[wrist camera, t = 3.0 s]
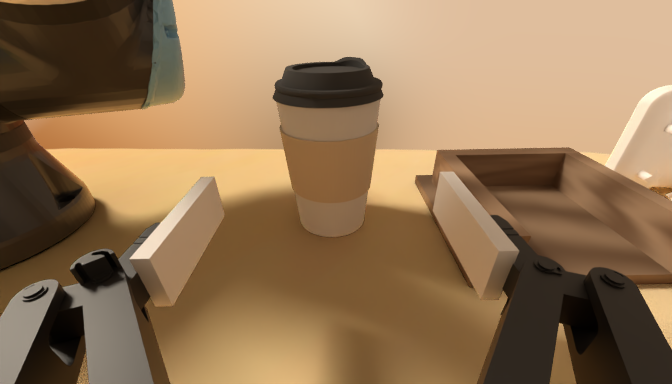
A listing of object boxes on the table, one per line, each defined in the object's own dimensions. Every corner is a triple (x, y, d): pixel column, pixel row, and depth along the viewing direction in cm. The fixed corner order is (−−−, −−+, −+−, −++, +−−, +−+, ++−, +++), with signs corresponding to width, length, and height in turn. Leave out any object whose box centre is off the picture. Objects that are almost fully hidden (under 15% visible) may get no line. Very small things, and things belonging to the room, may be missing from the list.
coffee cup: (332, 259, 24) (326, 73, 16) (271, 217, 29) (245, 62, 22) (391, 214, 30) (408, 59, 22) (331, 186, 35) (327, 53, 27)
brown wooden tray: (704, 282, 21) (754, 231, 19) (469, 287, 21) (486, 236, 19) (556, 179, 35) (572, 142, 33) (415, 182, 35) (420, 145, 33)
